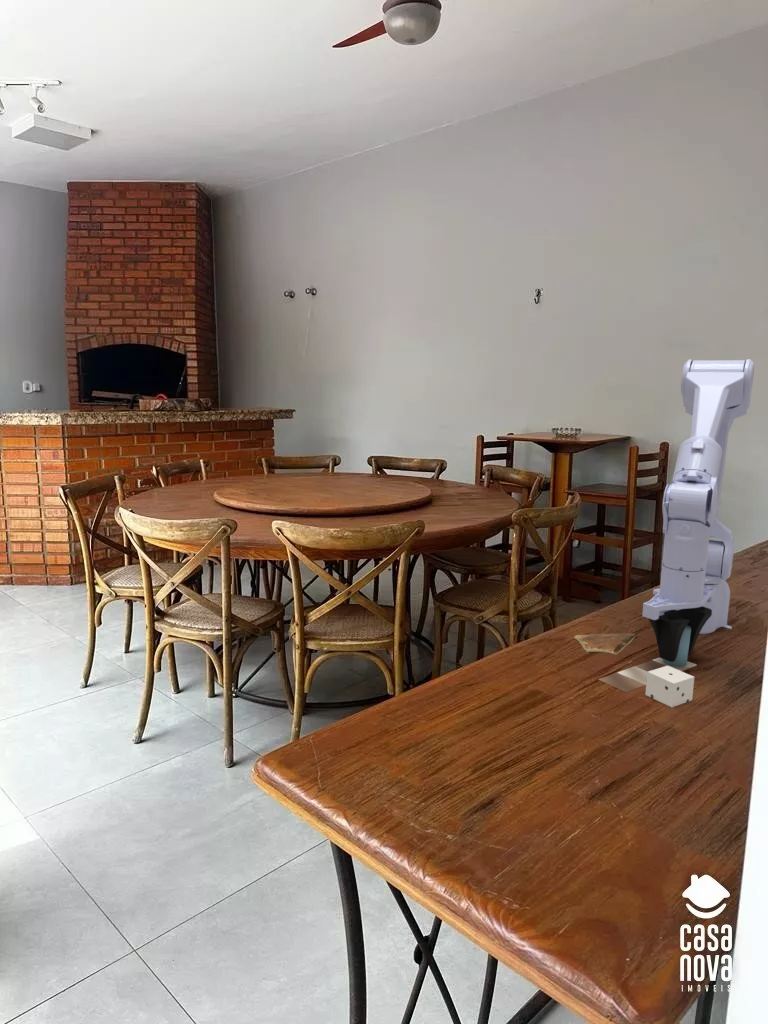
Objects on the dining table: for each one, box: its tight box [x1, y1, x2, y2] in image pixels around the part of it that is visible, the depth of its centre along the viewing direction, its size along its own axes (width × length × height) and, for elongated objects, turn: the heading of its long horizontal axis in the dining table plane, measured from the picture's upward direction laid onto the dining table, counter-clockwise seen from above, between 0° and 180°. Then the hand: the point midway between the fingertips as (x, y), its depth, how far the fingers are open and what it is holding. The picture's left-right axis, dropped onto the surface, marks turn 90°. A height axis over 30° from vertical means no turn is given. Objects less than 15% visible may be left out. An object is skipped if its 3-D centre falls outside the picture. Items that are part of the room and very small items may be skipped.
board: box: [598, 656, 697, 693], centre depth 96 cm, size 16×5×1 cm, turn 124°
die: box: [645, 666, 695, 708], centre depth 89 cm, size 4×4×4 cm
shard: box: [573, 632, 640, 655], centre depth 106 cm, size 11×8×2 cm
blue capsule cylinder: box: [663, 625, 691, 667], centre depth 99 cm, size 3×3×6 cm
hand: (675, 656), depth 99 cm, fingers closed on blue capsule cylinder, 3 cm apart
